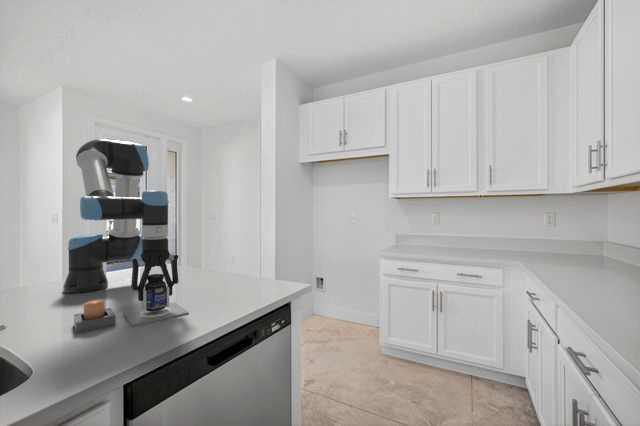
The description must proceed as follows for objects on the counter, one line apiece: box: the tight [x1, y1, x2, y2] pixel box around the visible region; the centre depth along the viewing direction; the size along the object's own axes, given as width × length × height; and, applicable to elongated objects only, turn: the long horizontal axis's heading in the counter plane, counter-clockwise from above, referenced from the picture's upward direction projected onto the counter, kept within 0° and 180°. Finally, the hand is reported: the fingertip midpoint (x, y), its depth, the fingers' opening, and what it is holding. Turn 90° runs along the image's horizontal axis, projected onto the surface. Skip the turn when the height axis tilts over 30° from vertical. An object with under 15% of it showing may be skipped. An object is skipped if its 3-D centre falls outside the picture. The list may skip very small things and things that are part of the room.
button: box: [83, 299, 106, 320], centre depth 89 cm, size 5×5×5 cm
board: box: [122, 301, 189, 327], centre depth 98 cm, size 14×16×1 cm
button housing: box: [73, 307, 116, 335], centre depth 89 cm, size 9×9×3 cm
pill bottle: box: [144, 273, 167, 311], centre depth 98 cm, size 6×6×11 cm
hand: (155, 307), depth 98 cm, fingers closed on pill bottle, 6 cm apart
